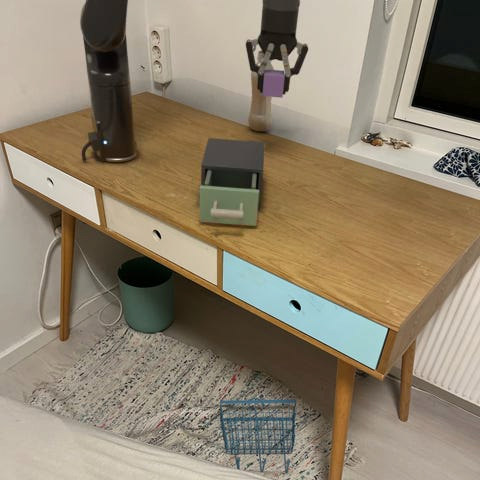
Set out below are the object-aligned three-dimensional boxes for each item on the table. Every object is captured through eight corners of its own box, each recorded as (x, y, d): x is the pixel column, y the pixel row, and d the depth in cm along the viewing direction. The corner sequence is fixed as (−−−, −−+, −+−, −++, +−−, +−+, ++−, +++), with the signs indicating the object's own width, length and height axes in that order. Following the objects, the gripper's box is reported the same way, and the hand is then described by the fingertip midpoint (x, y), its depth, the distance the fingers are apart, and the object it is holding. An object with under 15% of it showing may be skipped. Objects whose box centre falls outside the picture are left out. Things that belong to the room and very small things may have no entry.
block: (282, 97, 113) (284, 76, 110) (262, 96, 113) (264, 74, 110) (281, 91, 117) (284, 70, 114) (262, 90, 116) (264, 69, 114)
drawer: (255, 239, 97) (258, 204, 92) (196, 234, 97) (196, 200, 92) (258, 194, 111) (260, 163, 106) (206, 191, 111) (206, 159, 106)
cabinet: (259, 210, 108) (263, 169, 102) (201, 205, 108) (201, 165, 102) (261, 180, 119) (264, 142, 113) (208, 176, 119) (208, 137, 113)
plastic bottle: (269, 135, 140) (276, 56, 127) (245, 132, 141) (250, 53, 128) (272, 127, 145) (279, 50, 132) (249, 124, 146) (254, 48, 133)
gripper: (314, 5, 106) (302, 90, 118) (246, -1, 106) (241, 85, 117) (316, 11, 101) (304, 100, 112) (245, 6, 101) (240, 95, 112)
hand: (272, 92), depth 115 cm, fingers closed on block, 4 cm apart
